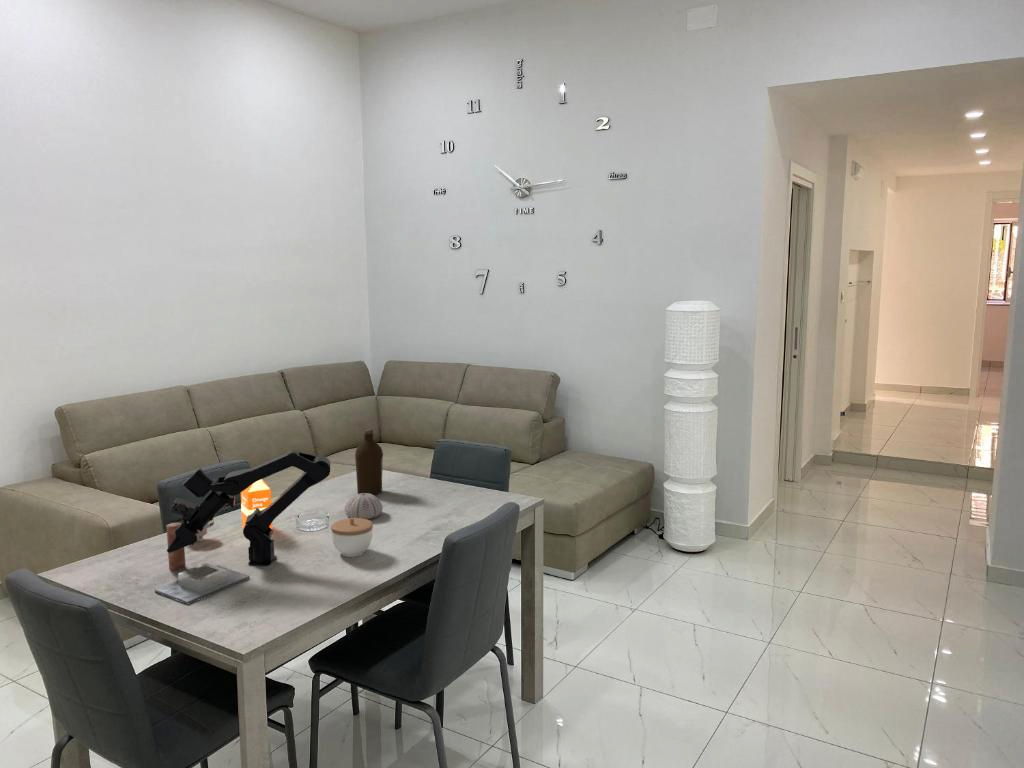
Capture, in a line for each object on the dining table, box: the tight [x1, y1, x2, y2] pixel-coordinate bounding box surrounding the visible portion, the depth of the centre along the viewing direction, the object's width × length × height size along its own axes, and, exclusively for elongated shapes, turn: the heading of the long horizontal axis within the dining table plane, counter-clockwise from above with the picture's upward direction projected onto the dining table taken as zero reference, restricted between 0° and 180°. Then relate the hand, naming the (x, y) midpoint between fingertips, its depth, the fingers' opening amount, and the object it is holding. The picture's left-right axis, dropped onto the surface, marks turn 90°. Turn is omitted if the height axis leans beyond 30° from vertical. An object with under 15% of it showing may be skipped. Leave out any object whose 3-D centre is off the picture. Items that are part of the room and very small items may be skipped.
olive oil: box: [354, 428, 384, 496], centre depth 297 cm, size 11×11×25 cm
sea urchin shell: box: [344, 493, 383, 520], centre depth 272 cm, size 13×14×8 cm
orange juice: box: [240, 479, 273, 530], centre depth 256 cm, size 8×9×20 cm
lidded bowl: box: [330, 517, 374, 558], centre depth 237 cm, size 13×13×11 cm
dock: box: [154, 562, 251, 605], centre depth 212 cm, size 20×14×4 cm
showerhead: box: [196, 518, 215, 542], centre depth 246 cm, size 9×7×10 cm
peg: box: [166, 522, 186, 571], centre depth 224 cm, size 4×4×13 cm
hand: (171, 546), depth 223 cm, fingers open, 9 cm apart
